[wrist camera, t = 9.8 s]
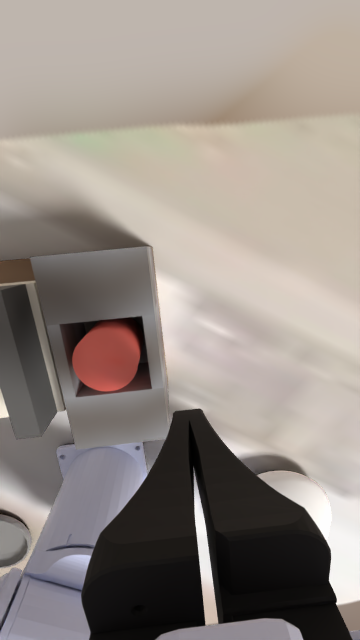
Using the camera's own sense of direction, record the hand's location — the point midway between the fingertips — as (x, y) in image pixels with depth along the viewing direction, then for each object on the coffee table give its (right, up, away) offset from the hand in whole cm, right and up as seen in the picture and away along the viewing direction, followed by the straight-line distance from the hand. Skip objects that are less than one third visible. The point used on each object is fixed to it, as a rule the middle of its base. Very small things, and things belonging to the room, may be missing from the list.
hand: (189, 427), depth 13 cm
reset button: (-5, +4, +6) cm, 8 cm away
